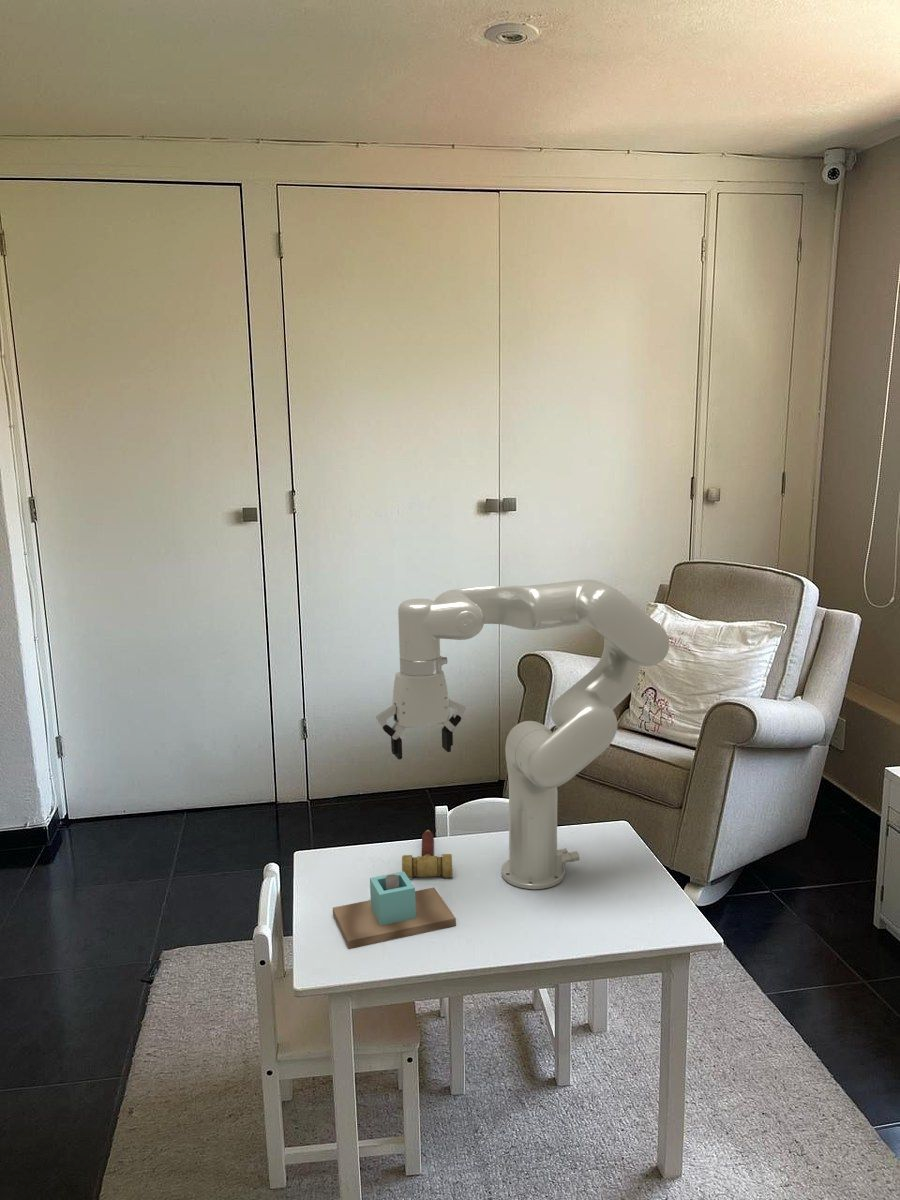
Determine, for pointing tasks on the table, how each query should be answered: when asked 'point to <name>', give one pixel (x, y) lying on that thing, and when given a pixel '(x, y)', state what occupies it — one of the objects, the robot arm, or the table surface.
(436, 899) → the post stand
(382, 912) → the collar
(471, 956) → the table surface
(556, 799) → the robot arm
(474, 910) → the table surface
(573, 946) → the table surface
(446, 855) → the gavel
